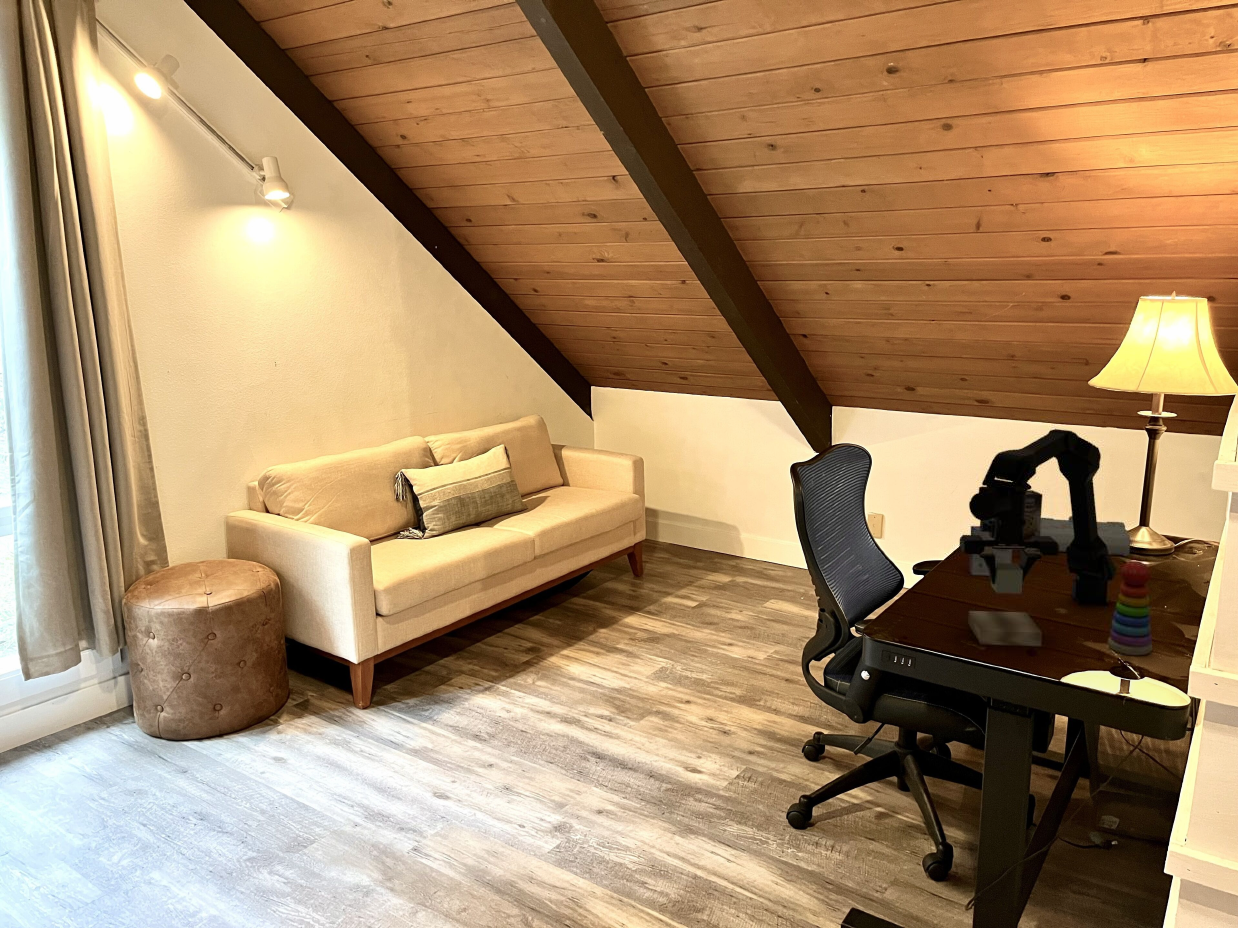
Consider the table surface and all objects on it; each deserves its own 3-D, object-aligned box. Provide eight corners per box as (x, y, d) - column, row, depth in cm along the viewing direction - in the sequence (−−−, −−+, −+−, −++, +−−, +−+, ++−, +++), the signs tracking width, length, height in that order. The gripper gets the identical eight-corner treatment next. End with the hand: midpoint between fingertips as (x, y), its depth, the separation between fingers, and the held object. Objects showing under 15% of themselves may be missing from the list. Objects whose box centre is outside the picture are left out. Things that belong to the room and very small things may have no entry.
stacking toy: (1099, 642, 190) (1105, 556, 187) (1135, 640, 191) (1142, 554, 188) (1122, 657, 183) (1129, 567, 179) (1160, 655, 183) (1168, 565, 180)
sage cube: (1015, 585, 197) (1016, 563, 196) (1021, 593, 192) (1022, 570, 191) (990, 585, 197) (992, 563, 196) (996, 592, 193) (997, 570, 192)
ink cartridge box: (1007, 570, 240) (1010, 517, 237) (1012, 577, 234) (1015, 522, 232) (968, 569, 242) (970, 516, 239) (971, 575, 236) (974, 521, 234)
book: (1151, 561, 245) (1153, 533, 244) (1036, 552, 255) (1038, 526, 254) (1140, 543, 263) (1142, 517, 261) (1034, 536, 273) (1035, 511, 272)
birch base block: (1025, 625, 201) (1026, 612, 201) (1041, 646, 190) (1041, 632, 189) (968, 623, 203) (968, 610, 203) (980, 644, 192) (981, 630, 191)
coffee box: (1007, 550, 257) (1010, 494, 254) (998, 544, 263) (1001, 490, 260) (1040, 550, 257) (1043, 494, 254) (1030, 543, 263) (1033, 489, 260)
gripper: (1046, 504, 198) (1041, 573, 201) (955, 503, 201) (953, 571, 204) (1062, 516, 187) (1057, 589, 190) (966, 515, 190) (963, 587, 193)
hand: (1006, 583), depth 194 cm, fingers closed on sage cube, 5 cm apart
